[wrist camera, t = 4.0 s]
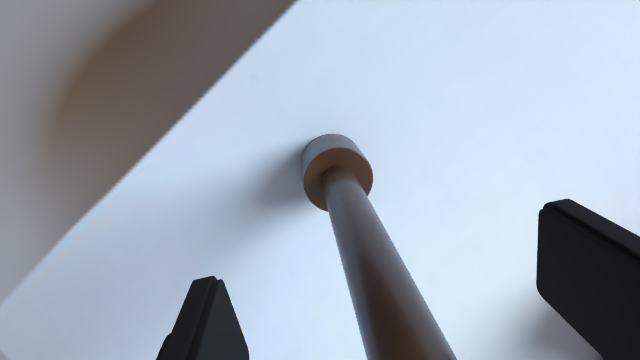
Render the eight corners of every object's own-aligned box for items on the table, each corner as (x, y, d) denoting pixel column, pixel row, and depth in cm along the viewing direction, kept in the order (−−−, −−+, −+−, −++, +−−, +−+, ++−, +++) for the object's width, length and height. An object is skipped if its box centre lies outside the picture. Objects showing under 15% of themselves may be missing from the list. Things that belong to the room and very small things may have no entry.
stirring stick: (308, 197, 21) (350, 478, 7) (294, 140, 20) (317, 354, 6) (365, 184, 21) (516, 440, 7) (356, 127, 20) (517, 307, 6)
